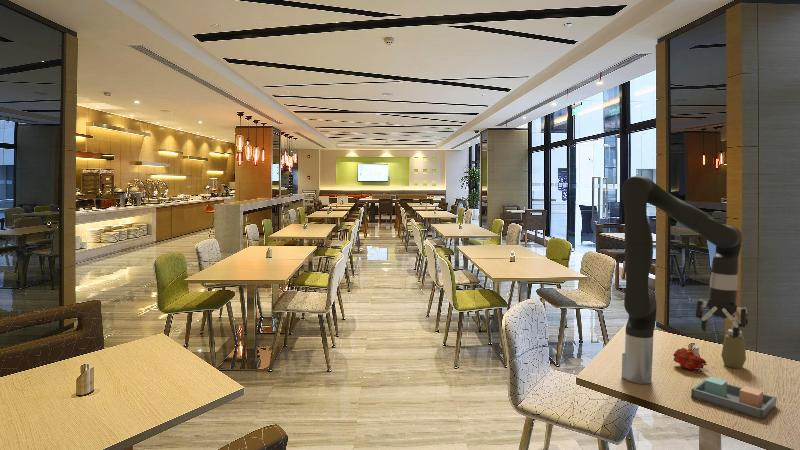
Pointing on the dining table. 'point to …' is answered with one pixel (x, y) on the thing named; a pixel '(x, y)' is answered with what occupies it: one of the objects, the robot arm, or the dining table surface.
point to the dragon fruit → (688, 359)
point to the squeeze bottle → (733, 350)
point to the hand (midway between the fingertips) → (719, 334)
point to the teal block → (716, 386)
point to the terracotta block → (751, 397)
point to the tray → (734, 401)
